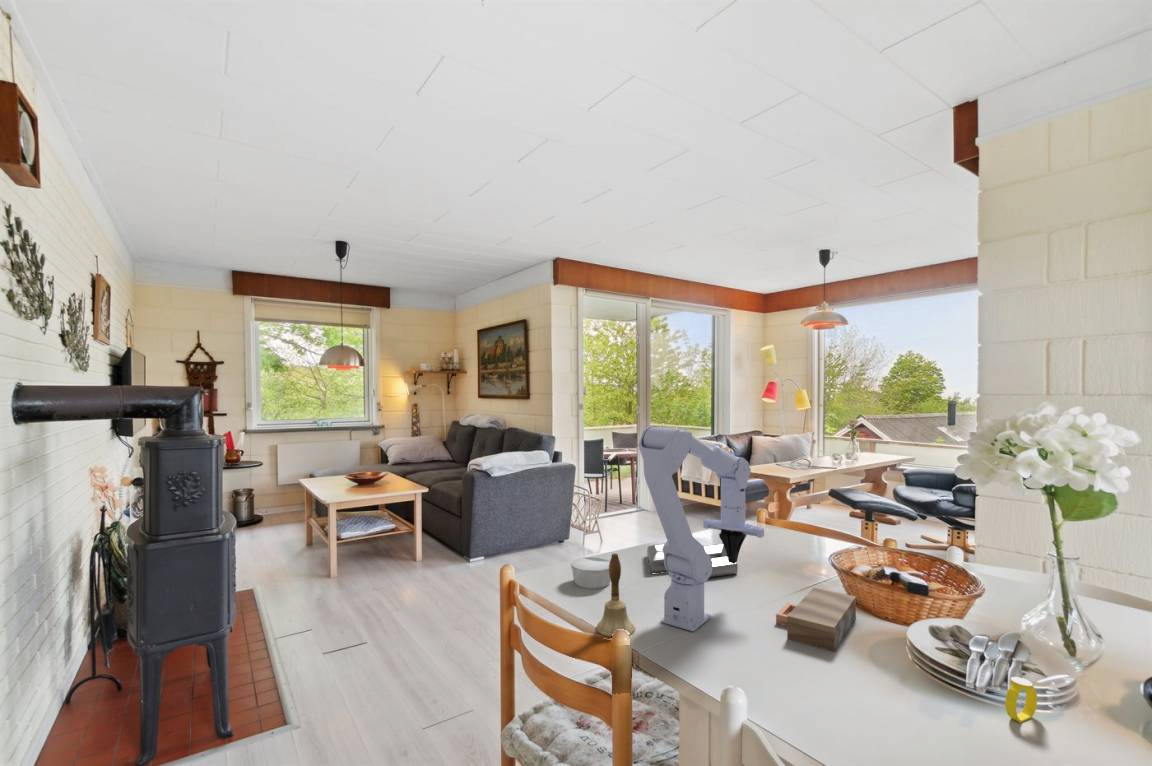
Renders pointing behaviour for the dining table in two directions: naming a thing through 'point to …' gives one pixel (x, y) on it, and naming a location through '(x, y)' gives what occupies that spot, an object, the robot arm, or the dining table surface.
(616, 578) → the hand bell
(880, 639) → the dining table surface
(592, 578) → the ramekin
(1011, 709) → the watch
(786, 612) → the shallow pink tray
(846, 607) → the wooden block
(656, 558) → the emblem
